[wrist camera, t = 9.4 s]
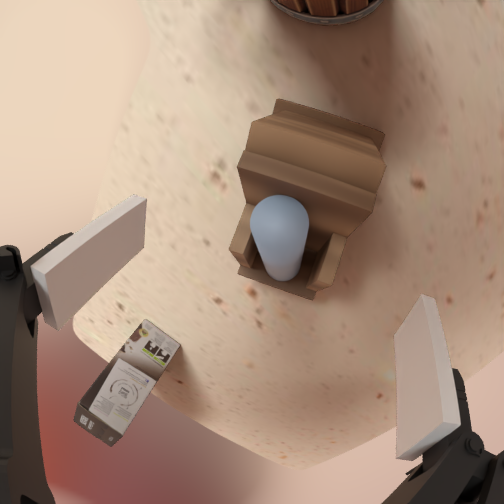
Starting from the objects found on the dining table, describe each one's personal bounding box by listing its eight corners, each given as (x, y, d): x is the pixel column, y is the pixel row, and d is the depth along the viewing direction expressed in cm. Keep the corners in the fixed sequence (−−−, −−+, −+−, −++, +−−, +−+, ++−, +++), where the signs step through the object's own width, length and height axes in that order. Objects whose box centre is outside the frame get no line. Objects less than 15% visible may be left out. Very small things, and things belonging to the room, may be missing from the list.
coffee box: (144, 316, 42) (76, 402, 29) (182, 344, 43) (124, 437, 29) (127, 345, 47) (71, 420, 34) (160, 369, 48) (110, 449, 34)
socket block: (279, 98, 25) (232, 106, 15) (382, 132, 24) (410, 164, 14) (240, 254, 33) (191, 332, 23) (323, 284, 32) (307, 374, 22)
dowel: (270, 242, 30) (260, 188, 18) (304, 251, 29) (315, 203, 18) (260, 275, 29) (242, 241, 18) (294, 285, 29) (299, 258, 17)
